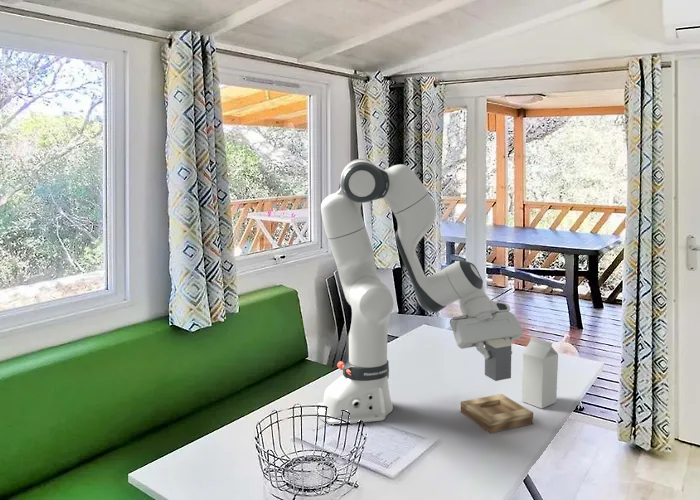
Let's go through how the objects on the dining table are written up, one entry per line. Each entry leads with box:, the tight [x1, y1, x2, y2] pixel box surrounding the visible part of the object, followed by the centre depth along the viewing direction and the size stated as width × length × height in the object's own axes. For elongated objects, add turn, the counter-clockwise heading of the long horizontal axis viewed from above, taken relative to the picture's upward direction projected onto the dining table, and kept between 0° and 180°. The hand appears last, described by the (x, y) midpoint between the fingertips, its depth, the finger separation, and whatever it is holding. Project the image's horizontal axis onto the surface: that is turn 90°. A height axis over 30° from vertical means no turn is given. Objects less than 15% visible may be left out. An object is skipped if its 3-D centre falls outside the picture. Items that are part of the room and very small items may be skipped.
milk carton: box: [521, 337, 559, 409], centre depth 168 cm, size 7×7×19 cm
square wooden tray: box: [460, 393, 534, 434], centre depth 159 cm, size 14×14×3 cm
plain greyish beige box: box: [484, 338, 512, 382], centre depth 157 cm, size 5×5×10 cm
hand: (499, 356), depth 156 cm, fingers closed on plain greyish beige box, 5 cm apart
